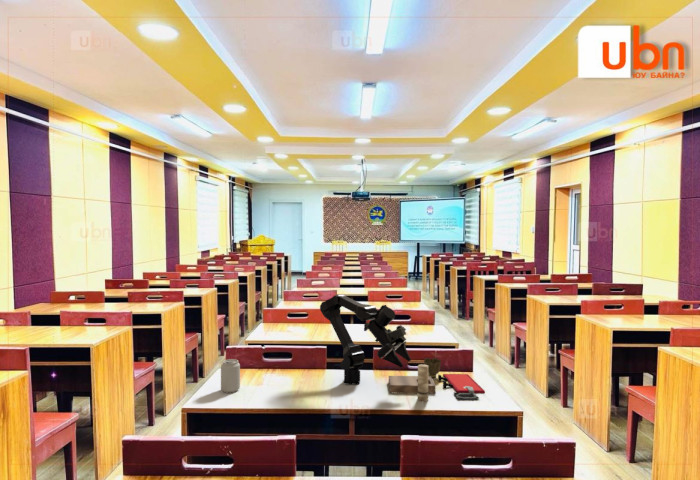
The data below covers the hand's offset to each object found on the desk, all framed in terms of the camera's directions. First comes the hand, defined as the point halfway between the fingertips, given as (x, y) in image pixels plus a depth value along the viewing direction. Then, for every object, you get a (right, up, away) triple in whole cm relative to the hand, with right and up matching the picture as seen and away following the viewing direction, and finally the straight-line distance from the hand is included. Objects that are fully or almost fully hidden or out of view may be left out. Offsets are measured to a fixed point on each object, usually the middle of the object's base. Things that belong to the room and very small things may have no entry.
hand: (406, 363), depth 173 cm
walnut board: (+3, -13, +10) cm, 17 cm away
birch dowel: (+6, -13, -3) cm, 15 cm away
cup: (+15, -13, +24) cm, 31 cm away
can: (-71, -13, +6) cm, 72 cm away
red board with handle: (+24, -14, +12) cm, 31 cm away
